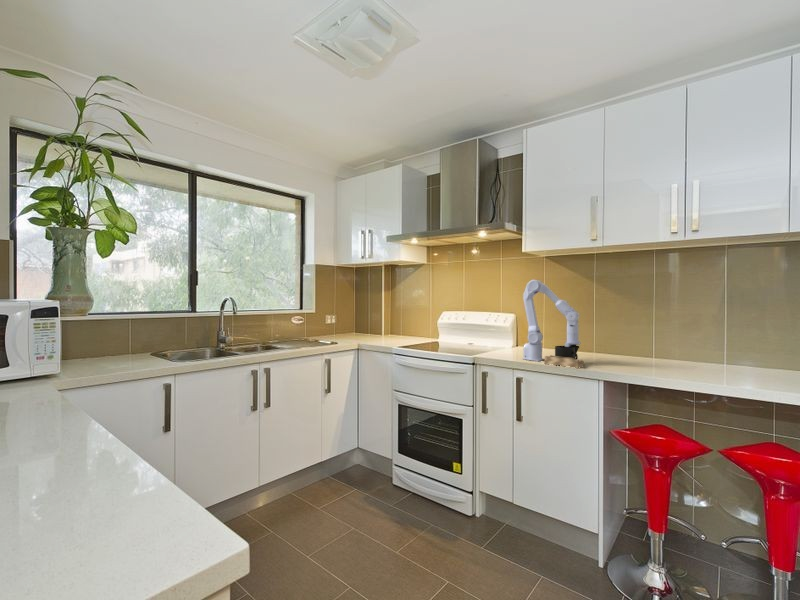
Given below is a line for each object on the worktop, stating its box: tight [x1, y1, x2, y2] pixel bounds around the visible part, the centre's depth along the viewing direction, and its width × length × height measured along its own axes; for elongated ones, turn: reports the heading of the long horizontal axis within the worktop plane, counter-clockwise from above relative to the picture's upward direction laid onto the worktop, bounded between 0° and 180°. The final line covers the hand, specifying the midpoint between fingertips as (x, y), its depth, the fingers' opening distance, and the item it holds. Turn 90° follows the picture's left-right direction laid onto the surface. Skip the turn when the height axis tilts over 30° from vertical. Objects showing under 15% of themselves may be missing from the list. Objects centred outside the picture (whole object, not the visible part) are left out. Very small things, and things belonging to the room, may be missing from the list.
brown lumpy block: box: [544, 354, 584, 369], centre depth 203 cm, size 17×7×5 cm, turn 43°
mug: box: [554, 345, 579, 360], centre depth 205 cm, size 9×12×9 cm
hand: (572, 359), depth 211 cm, fingers closed
